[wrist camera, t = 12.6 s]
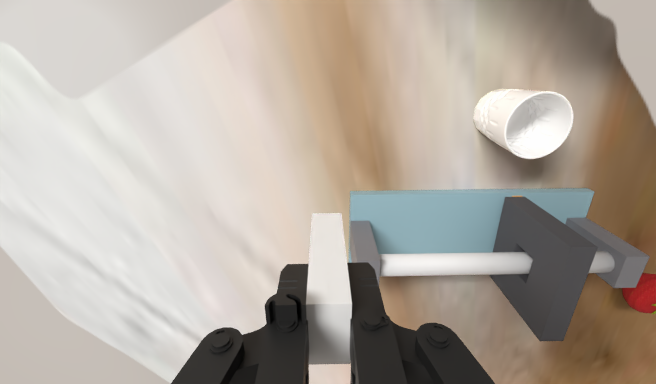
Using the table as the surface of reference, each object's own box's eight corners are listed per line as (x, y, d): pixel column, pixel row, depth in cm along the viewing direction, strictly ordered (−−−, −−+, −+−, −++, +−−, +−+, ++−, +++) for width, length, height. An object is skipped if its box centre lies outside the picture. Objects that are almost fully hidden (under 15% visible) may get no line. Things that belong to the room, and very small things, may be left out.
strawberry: (599, 271, 58) (651, 312, 49) (642, 253, 56) (705, 291, 47) (606, 294, 60) (658, 337, 51) (648, 276, 58) (709, 317, 49)
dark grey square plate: (487, 273, 54) (539, 341, 41) (505, 196, 48) (571, 247, 36) (505, 272, 54) (563, 340, 41) (524, 196, 49) (598, 247, 36)
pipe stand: (348, 264, 56) (355, 317, 45) (350, 191, 51) (358, 230, 39) (562, 261, 57) (624, 313, 45) (587, 188, 51) (663, 225, 40)
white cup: (529, 124, 47) (579, 141, 38) (477, 148, 49) (514, 169, 39) (516, 74, 45) (566, 78, 35) (461, 100, 46) (496, 111, 37)
